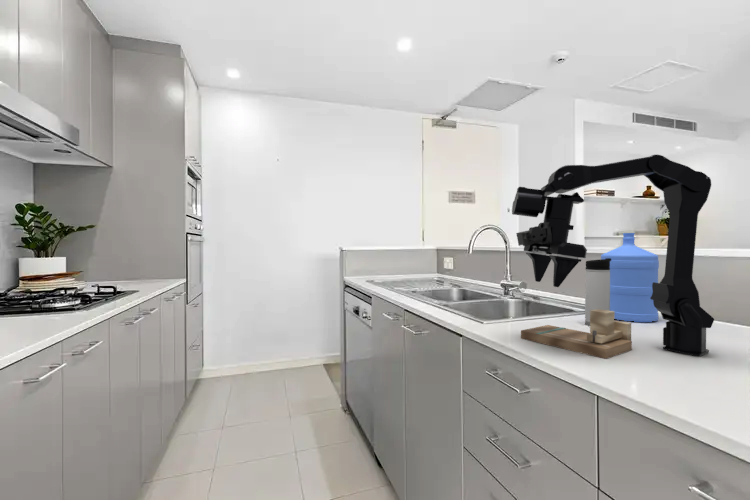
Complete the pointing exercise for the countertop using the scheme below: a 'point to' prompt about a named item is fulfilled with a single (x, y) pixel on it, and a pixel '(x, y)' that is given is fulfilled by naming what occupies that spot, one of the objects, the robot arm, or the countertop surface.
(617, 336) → the beech gauge
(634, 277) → the water jug
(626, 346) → the walnut board
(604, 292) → the travel mug
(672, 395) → the countertop surface
